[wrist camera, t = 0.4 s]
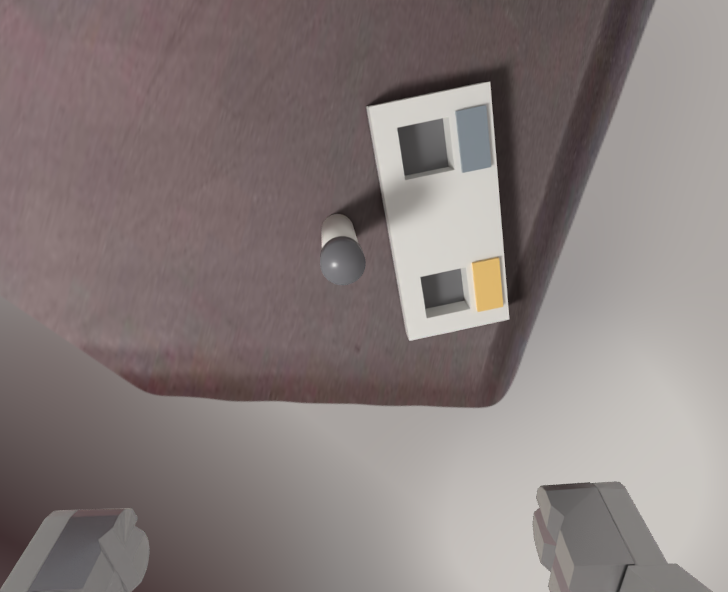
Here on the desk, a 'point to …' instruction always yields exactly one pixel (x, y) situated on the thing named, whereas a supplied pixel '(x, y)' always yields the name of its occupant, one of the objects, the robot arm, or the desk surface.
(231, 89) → the desk surface
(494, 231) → the socket board
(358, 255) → the grey capped white cylinder
